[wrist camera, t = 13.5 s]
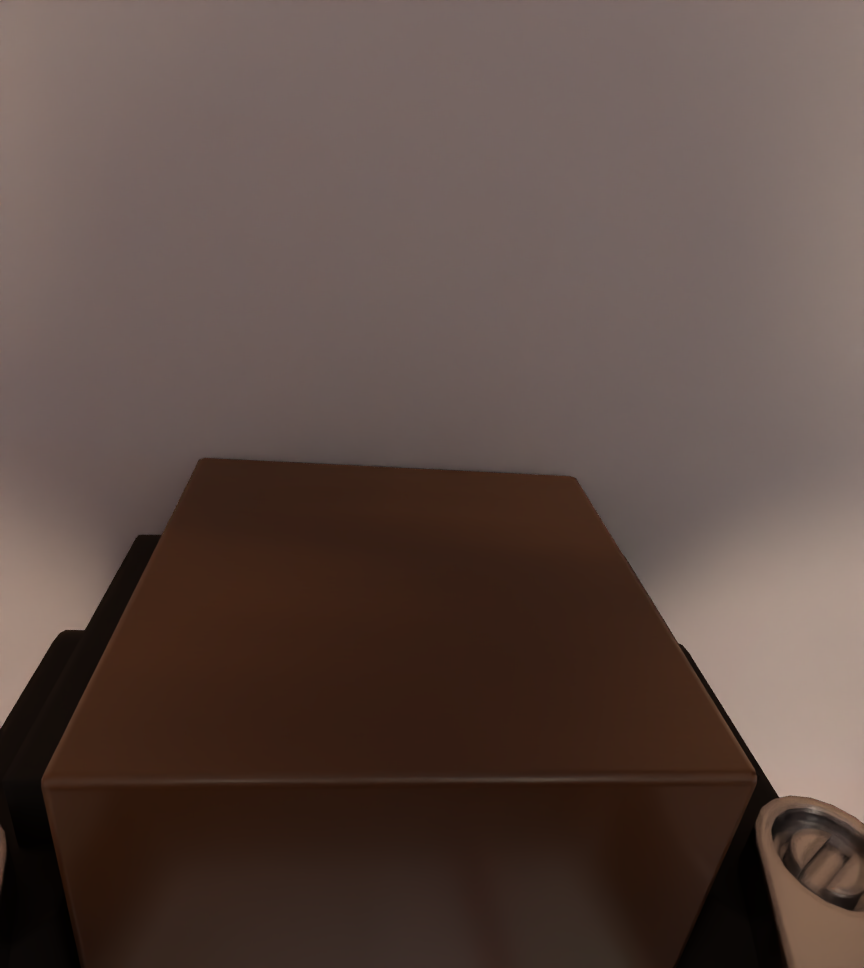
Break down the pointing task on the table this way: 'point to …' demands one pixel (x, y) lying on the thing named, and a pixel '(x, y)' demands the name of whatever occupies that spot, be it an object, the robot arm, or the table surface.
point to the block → (390, 736)
